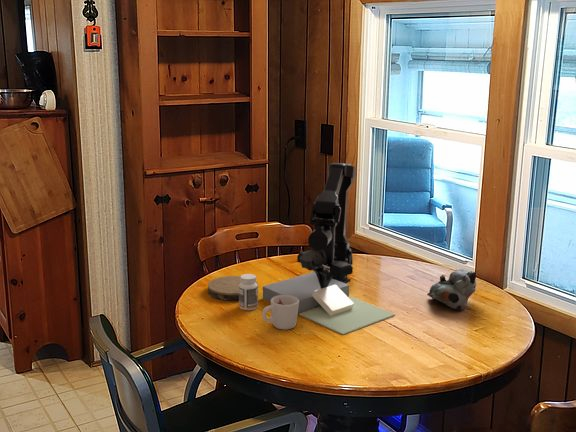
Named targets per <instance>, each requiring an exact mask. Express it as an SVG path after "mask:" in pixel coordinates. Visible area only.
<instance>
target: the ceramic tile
mask: <svg viewBox="0 0 576 432" xmlns="http://www.w3.org/2000/svg"><path fill="white" fill-rule="evenodd" d="M312 296H313V298H314V299H315V300H316V301H317V302H318V303H319V304H320V305H321V306H322V307H323V308H324V309H325V311H326V312H327V313H328V314H329V315H330V316H332V315H335V314H338V313H341V312H344V311H347V310H350V309H352V308H353V306H354V303H353V302H352V301H351V300H350V299H349V297H347V296H346V295H345V294H344V293H343V292H342V291H341V290H340V288H339V287H338V286H337V285H336V284H335V285H332V286H329V287H325V288H322V289H319V290H315V291H314V292H313V294H312ZM321 306H320V307H321Z"/></svg>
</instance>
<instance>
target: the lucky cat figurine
mask: <svg viewBox="0 0 576 432" xmlns="http://www.w3.org/2000/svg"><path fill="white" fill-rule="evenodd" d="M476 273H477V272H476V271H471V270H468V269H465V268H463V269H462V268H459V269H456V270H454V271H452V272H451V273H450V274H449V276H448V277H449V278H448V279H446V275H443V274H442V275H441V276H439V281H438V282H435V283H433V284H432V285H431V286H430V288H429V292H428V293H426V296H428V297H429V298H431V299H432V298H434V299H433V300H436V301H438V302H441V303H442V304H444V305H446V306H448V307H450V308H451V309H454V310H457V311H458V312H463V311H464V310H465V308H467V305H468V300H469V298H470V297H471V296H472V295H473V293H475V292H476V287H477V283H478V282H477V279H476V278H477V277H476V275H477V274H476Z"/></svg>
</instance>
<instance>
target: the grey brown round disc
mask: <svg viewBox="0 0 576 432" xmlns="http://www.w3.org/2000/svg"><path fill="white" fill-rule="evenodd" d="M240 277H241V276H240V275H226V276H221V277H220V276H219V277H217V278H214V279H211V280H210V281H208V283H207V294H208V296H209V297H210V298H211V299H213V300H218V301H221V302H228V303H229V302H230V303H234V302H239V284H240V283H241V280H240ZM255 282H256V283H257V285H258V286H259V284H258V281H257V280H256V281H255Z"/></svg>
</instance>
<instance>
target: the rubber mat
mask: <svg viewBox="0 0 576 432" xmlns="http://www.w3.org/2000/svg"><path fill="white" fill-rule="evenodd" d="M348 298H349V299H350V300H351V301H352V302H353V303H354V306H353V308H352V309H350V310H347V311H344V312H341V313H338V314H335V315H332V316H330V315H329V314H328V313H327V312H326V311H325V309H324V308H323V307H322V306H320V307H317V308H314V309H311V310H308V311H305V312H302V313H299V314H298V315H299V316H300V317H303V318H305V319H307V320H309V321H311V322H313V323H316V324H318V325H320V326H322V327H325V328H326V329H329V330H331V331H333V332H335V333H337V334H340V335H342V336H344V335H348V334H351V333H352V332H355V331H358V330H360V329H363V328H365V327H368V326H370V325H371V326H372V325H374V324H376V323H379V322H381V321H384V320H388V319H390V318H392V317H395V316H396V313H394V312H391V311H388V310H385V309H384V308H381V307H378V306H376V305H373V304H371V303H368V302H365V301H363V300H360V299H358V298H356V297H353V296H349V297H348Z"/></svg>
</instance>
